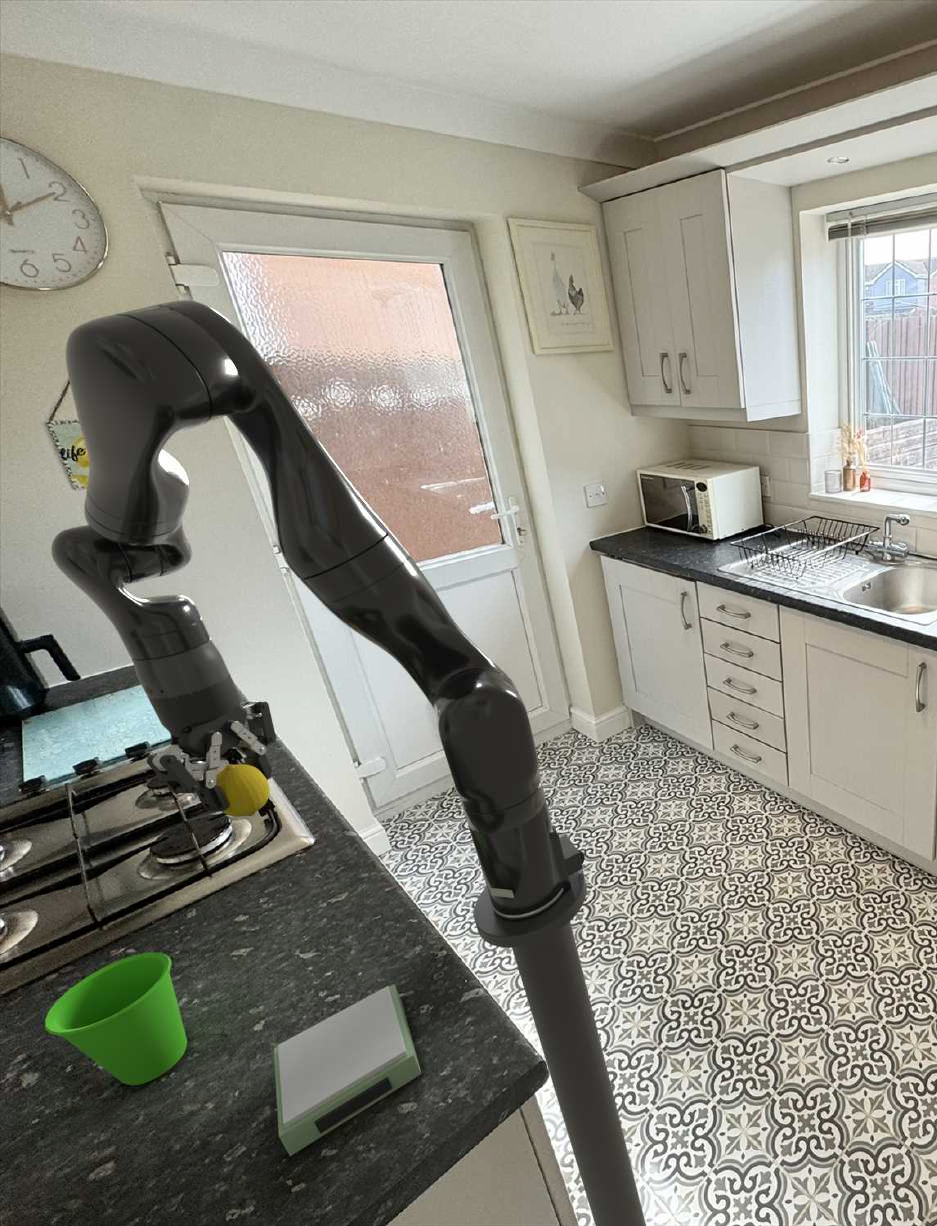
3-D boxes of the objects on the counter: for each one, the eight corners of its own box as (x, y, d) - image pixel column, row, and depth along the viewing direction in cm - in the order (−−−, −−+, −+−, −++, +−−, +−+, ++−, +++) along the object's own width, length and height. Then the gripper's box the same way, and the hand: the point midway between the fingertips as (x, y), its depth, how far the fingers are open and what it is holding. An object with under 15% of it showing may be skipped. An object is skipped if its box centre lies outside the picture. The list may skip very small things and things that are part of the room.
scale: (401, 1001, 74) (392, 979, 73) (422, 1075, 66) (412, 1052, 65) (283, 1067, 68) (271, 1044, 66) (290, 1158, 60) (276, 1135, 58)
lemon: (236, 834, 82) (210, 783, 79) (218, 821, 84) (193, 771, 81) (286, 809, 86) (263, 759, 83) (268, 797, 89) (245, 748, 86)
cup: (213, 1060, 69) (171, 988, 65) (92, 1127, 63) (37, 1053, 59) (209, 1005, 75) (170, 936, 71) (98, 1062, 69) (49, 991, 65)
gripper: (154, 711, 70) (216, 832, 77) (268, 654, 84) (313, 761, 90) (94, 711, 71) (161, 831, 78) (216, 655, 84) (265, 761, 91)
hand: (242, 793), depth 84 cm, fingers closed on lemon, 5 cm apart
